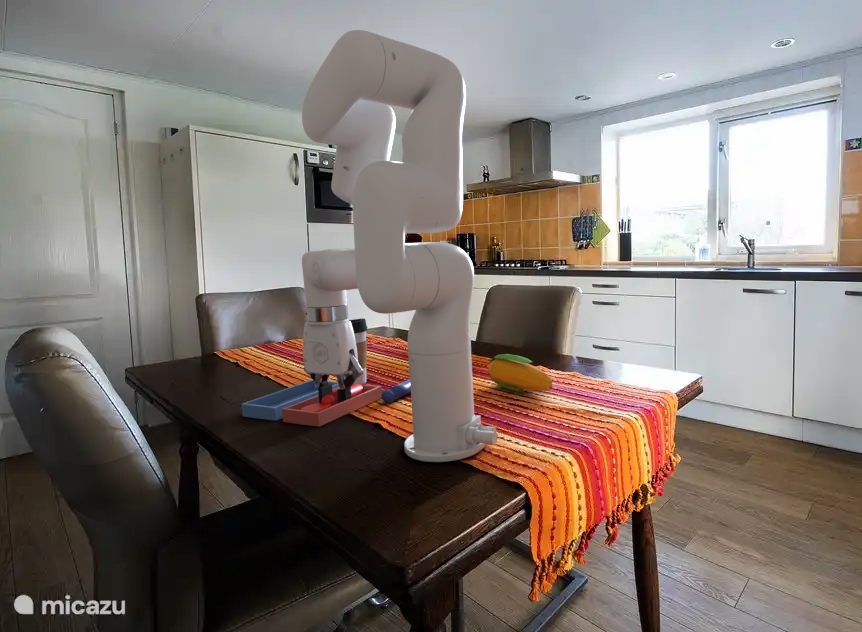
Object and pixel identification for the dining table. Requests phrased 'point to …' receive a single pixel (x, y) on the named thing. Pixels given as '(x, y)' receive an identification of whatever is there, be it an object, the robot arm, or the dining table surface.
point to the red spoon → (332, 399)
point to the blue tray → (280, 401)
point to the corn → (518, 374)
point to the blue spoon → (396, 392)
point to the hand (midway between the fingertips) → (335, 405)
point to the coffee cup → (360, 346)
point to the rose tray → (329, 414)
